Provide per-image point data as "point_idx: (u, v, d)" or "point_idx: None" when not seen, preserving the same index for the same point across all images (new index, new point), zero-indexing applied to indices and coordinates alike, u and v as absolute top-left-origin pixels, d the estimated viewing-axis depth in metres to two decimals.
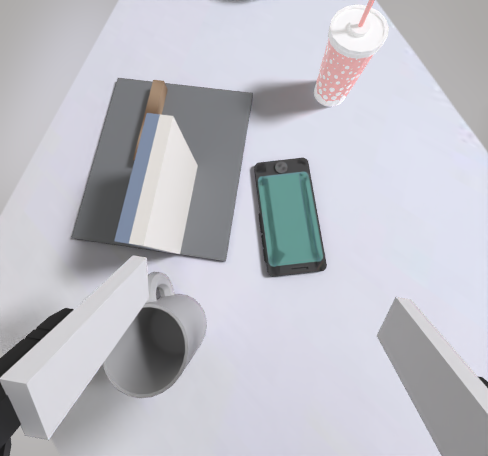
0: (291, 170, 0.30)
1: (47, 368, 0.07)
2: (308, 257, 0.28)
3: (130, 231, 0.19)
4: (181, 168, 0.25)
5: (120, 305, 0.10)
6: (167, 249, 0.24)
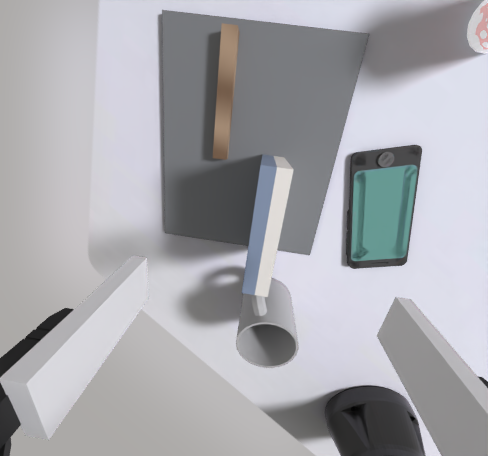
0: (397, 163, 0.25)
1: (47, 368, 0.07)
2: (391, 254, 0.29)
3: (255, 286, 0.21)
4: None
5: (120, 305, 0.10)
6: None
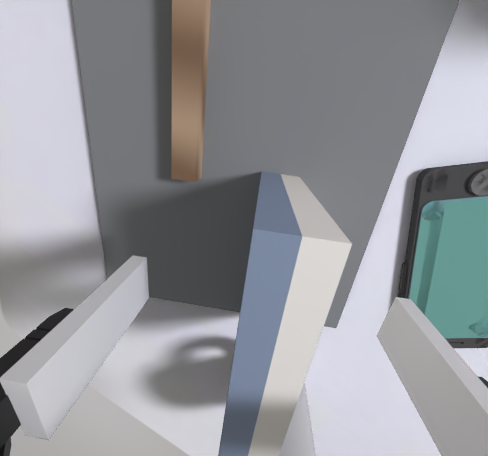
0: None
1: (47, 368, 0.07)
2: (470, 332, 0.18)
3: None
4: None
5: (120, 305, 0.10)
6: None
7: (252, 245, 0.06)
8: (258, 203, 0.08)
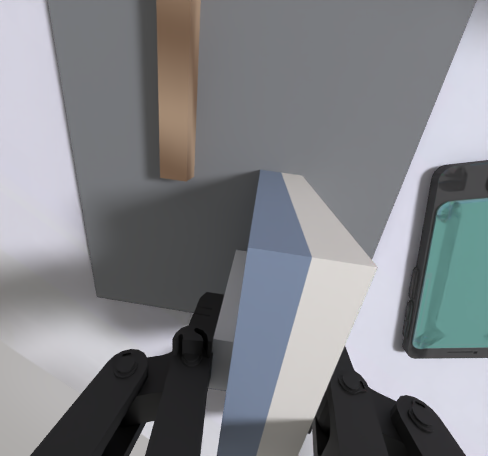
0: None
1: None
2: (485, 341, 0.17)
3: None
4: None
5: None
6: None
7: (246, 267, 0.05)
8: (255, 209, 0.07)
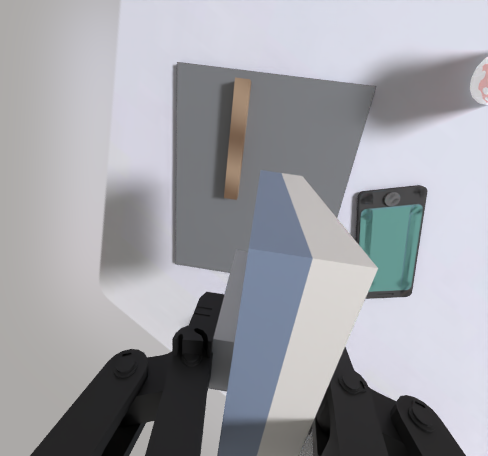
0: (403, 202, 0.26)
1: (235, 333, 0.08)
2: (396, 286, 0.30)
3: None
4: None
5: None
6: None
7: (247, 269, 0.05)
8: (256, 210, 0.07)
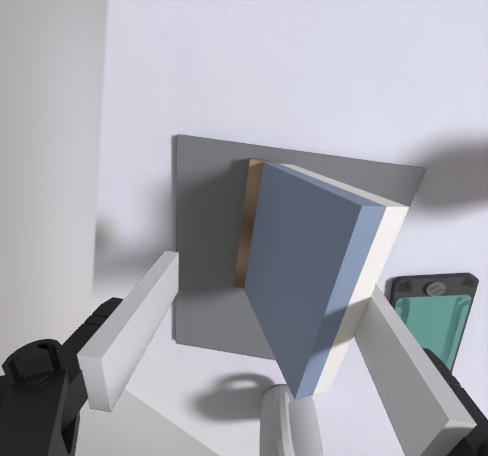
0: (448, 292, 0.22)
1: (113, 347, 0.07)
2: None
3: (315, 385, 0.13)
4: None
5: (160, 295, 0.11)
6: None
7: (358, 217, 0.09)
8: (324, 189, 0.11)
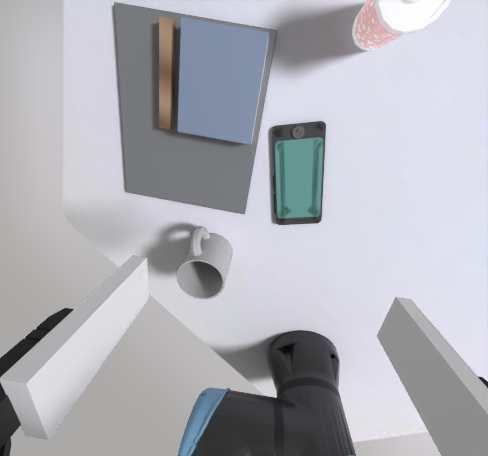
0: (308, 135, 0.32)
1: (47, 368, 0.07)
2: (308, 213, 0.36)
3: (252, 136, 0.31)
4: None
5: (120, 305, 0.10)
6: None
7: (267, 37, 0.26)
8: None
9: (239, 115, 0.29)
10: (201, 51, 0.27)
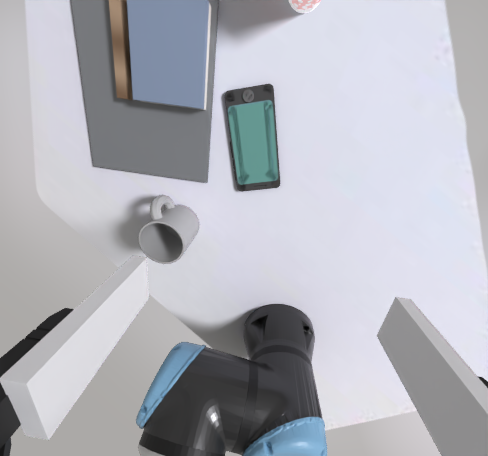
0: (257, 99, 0.33)
1: (47, 368, 0.07)
2: (267, 178, 0.37)
3: (204, 101, 0.33)
4: None
5: (120, 305, 0.10)
6: None
7: (206, 2, 0.28)
8: None
9: (188, 79, 0.31)
10: (147, 19, 0.29)
